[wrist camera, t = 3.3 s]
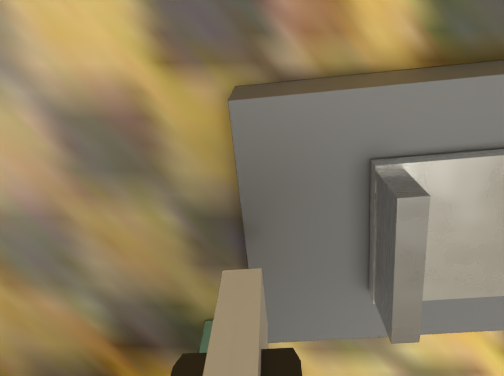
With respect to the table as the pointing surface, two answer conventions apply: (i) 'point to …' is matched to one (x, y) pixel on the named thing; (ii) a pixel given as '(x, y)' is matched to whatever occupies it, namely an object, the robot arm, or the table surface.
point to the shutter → (434, 234)
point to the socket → (349, 187)
